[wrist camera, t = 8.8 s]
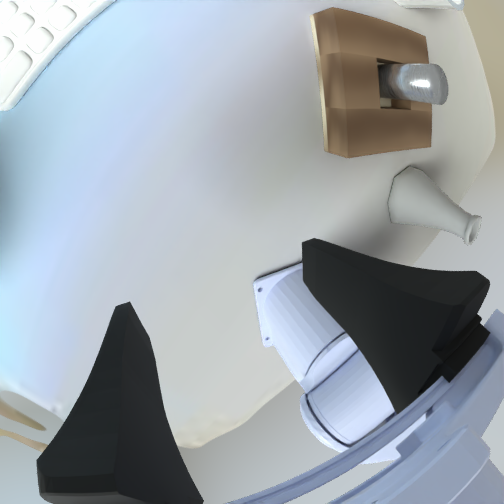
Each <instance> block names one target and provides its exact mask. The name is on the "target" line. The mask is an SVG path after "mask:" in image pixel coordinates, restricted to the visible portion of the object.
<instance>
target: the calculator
mask: <svg viewBox="0 0 504 504" xmlns="http://www.w3.org/2000/svg"><path fill="white" fill-rule="evenodd" d="M11 1H12V2H11ZM114 1H116V0H0V110H1V111H8V110H10V109H12V108H13V107H14V106H15V105H16V104H17V103H18V102H19V101H20V99H21V98H22V97H23V95H24V94H25V93H26V91H27V90H28V89H29V87H30V86H31V85H32V83H33V82H34V81H35V79H36V78H37V77H38V76H39V74H40V73H41V72H42V71H43V70H44V68H45V67H46V66H47V65H48V64H49V63H50V61H51V60H52V59H53V58H54V57H55V56H56V55H57V54H58V52H59V51H60V50H61V49H62V48H63V47H64V46H65V45H66V44H67V43H68V42H69V41H70V40H71V39H72V38H73V37H74V36H75V35H76V34H77V33H78V32H79V31H80V30H81V29H82V28H83V27H85V26H86V25H87V24H88V23H89V22H90V21H91V20H92V19H94V18H95V17H96V16H97V15H98V14H99V13H101V12H102V11H103V10H104V9H105V8H107V7H108V6H109V5H111V4H112V3H113V2H114ZM13 2H14V3H13ZM26 13H27V14H26ZM11 31H12V32H13V33H14V34H13V33H12V32H11ZM29 47H30V48H31V49H30V48H29Z"/></svg>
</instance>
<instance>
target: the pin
mask: <svg viewBox="0 0 504 504" xmlns="http://www.w3.org/2000/svg"><path fill="white" fill-rule="evenodd" d="M377 68H378V79H379V91H380V98H387V99H399V100H409V101H417V102H425V103H432V104H438V105H442V104H444V103H445V101H446V99H447V96H448V83H447V78H446V76H445V73H444V71H443V70H442V69H441V67H440V66H438V65H436V64H379V65H377Z"/></svg>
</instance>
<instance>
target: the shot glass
mask: <svg viewBox="0 0 504 504" xmlns="http://www.w3.org/2000/svg"><path fill="white" fill-rule="evenodd" d="M393 1H395V2H396V3H397V4H398V5H399V6H402V7H404V8H437V9H451V10H463V7H464V0H393Z"/></svg>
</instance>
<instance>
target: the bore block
mask: <svg viewBox="0 0 504 504" xmlns="http://www.w3.org/2000/svg"><path fill="white" fill-rule="evenodd" d="M310 21H311V27H312V33H313V40H314V46H315V53H316V61H317V69H318V77H319V86H320V96H321V107H322V119H323V133H324V150H325V151H326V152H329V153H333V154H336V155H339V156H342V157H345V158H353V157H359V156H365V155H372V154H378V153H386V152H393V151H401V150H409V149H418V148H427V147H431V134H432V103H425V102H417V101H409V100H399V99H387V98H380V91H379V79H378V68H377V65H379V64H429V59H428V51H427V43H426V37H425V36H423V35H421V34H419V33H416V32H414V31H411V30H409V29H406V28H403V27H401V26H398V25H395V24H392V23H390V22H387V21H383V20H380V19H377V18H374V17H370V16H367V15H363V14H360V13H356V12H352V11H348V10H343V9H339V8H334V7H332V8H329V9H326V10H323V11H321V12H318V13H315V14H313V15H310Z"/></svg>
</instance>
